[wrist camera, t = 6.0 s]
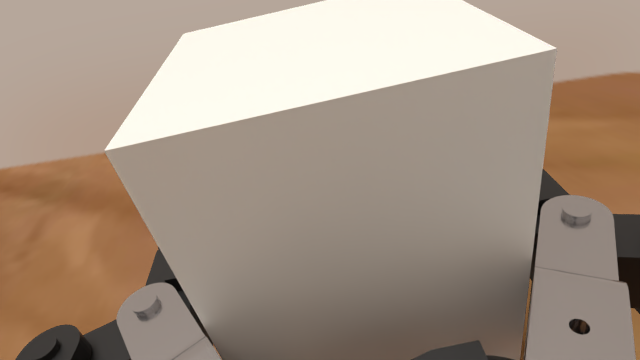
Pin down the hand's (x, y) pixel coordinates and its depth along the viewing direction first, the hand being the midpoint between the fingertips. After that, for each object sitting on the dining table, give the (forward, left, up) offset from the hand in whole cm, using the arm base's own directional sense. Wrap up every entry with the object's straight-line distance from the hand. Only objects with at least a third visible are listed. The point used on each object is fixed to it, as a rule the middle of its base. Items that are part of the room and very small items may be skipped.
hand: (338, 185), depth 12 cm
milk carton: (-1, -2, -7) cm, 7 cm away
